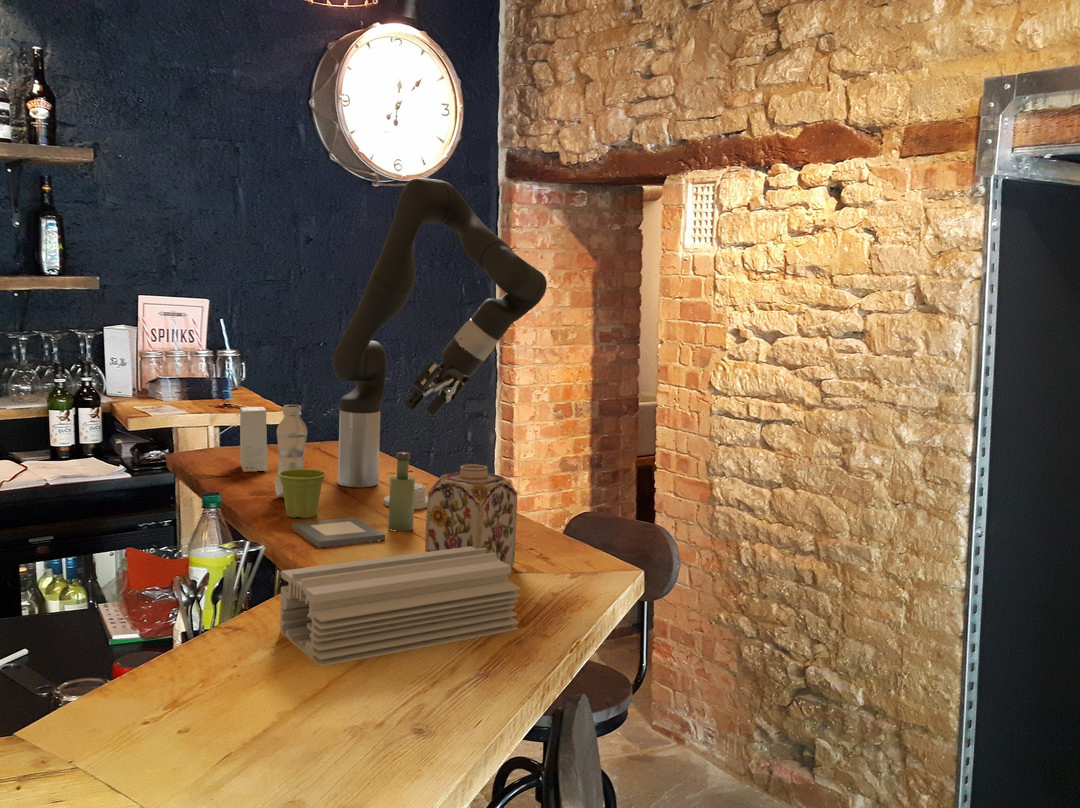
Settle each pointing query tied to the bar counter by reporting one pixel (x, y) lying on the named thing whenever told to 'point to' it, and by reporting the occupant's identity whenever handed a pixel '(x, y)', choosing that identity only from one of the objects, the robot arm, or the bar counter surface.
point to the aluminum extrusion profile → (396, 603)
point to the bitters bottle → (401, 496)
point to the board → (337, 532)
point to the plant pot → (301, 491)
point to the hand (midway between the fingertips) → (420, 410)
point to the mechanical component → (415, 497)
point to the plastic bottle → (290, 443)
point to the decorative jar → (472, 513)
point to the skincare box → (253, 439)
